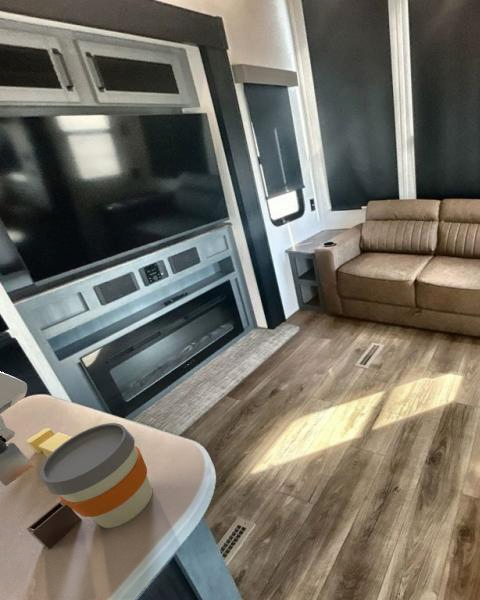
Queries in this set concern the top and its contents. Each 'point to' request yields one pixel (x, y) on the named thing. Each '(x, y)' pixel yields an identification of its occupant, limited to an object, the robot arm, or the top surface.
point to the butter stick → (53, 443)
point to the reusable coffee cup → (100, 475)
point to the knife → (12, 462)
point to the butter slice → (39, 439)
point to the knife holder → (54, 524)
